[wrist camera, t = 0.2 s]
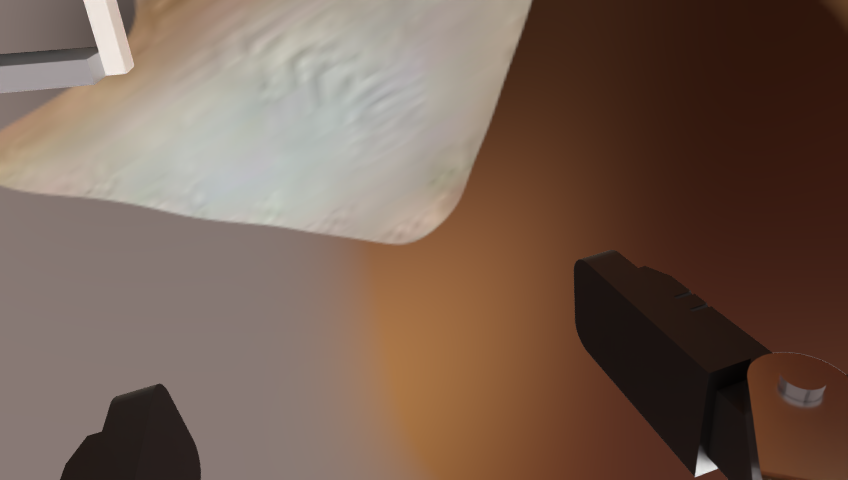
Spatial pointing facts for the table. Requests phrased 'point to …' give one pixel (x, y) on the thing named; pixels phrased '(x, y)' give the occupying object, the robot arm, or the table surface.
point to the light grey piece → (72, 57)
